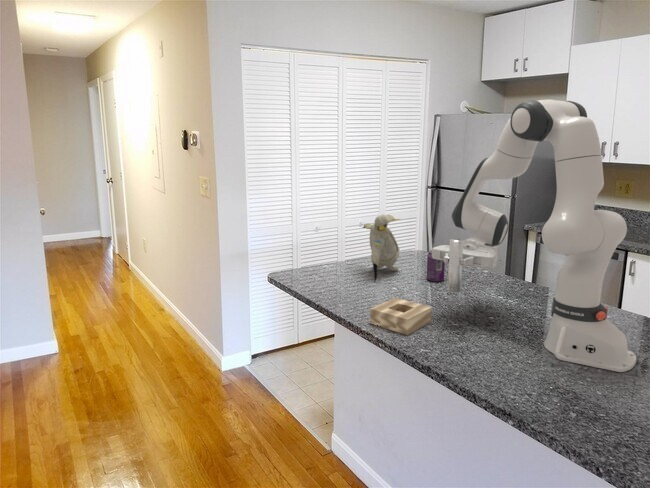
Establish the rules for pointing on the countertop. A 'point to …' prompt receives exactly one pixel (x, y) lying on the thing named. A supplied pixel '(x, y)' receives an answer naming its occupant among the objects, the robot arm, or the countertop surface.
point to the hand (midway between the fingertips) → (454, 261)
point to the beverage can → (435, 268)
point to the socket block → (400, 315)
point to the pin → (455, 265)
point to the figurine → (382, 244)
